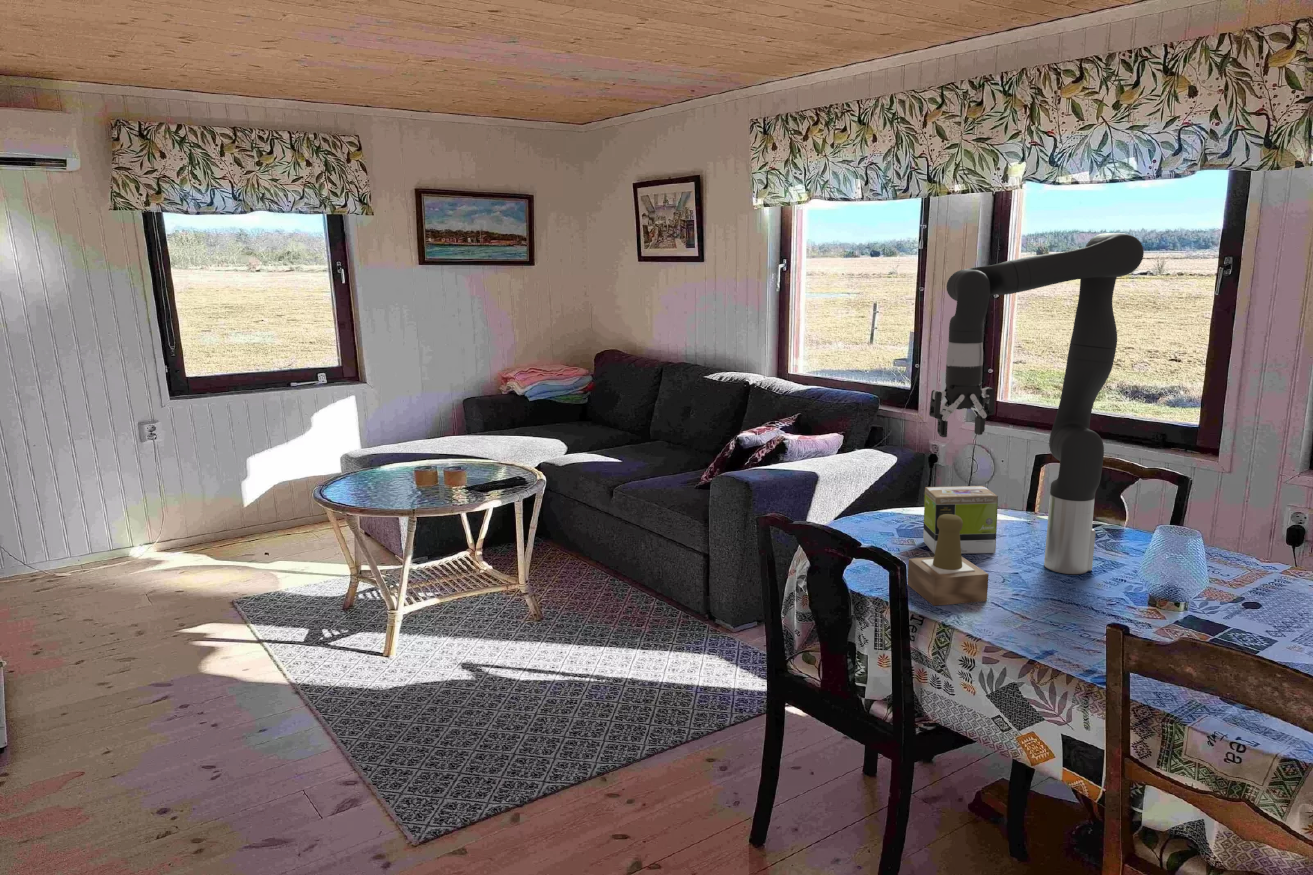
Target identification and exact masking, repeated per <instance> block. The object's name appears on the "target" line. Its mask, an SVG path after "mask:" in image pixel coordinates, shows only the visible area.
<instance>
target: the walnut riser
mask: <svg viewBox="0 0 1313 875" xmlns="http://www.w3.org/2000/svg"><path fill="white" fill-rule="evenodd" d="M933 560H934V556H929V557H915V558H914V557H913V558H908V566H907V568H908V569H907V583H908V585H909V586H908V585H907V586H908V587H910V588H911V589H912V590H913V591H914V592H916V593H917V594H919V596H921V597H922V598H923V599H924V600H926V601H927V602H928V603H930V605H932V606H933V607H934V606H946V605H948V606H949V605H956V604H957V605H958V604H968V603H979V602H980V603H981V602H987V601H988V589H989V588H988V586H989V575H990V574H989V573H988V572H986V571H985V570H983V569H982V568H980V567H978V566H977V565H975V564H974V563H973V562H971V561H970V560H968V559H966V558H965V557H963V556H962V568H960V569H957V570H946V569H940V568H937V567H935V566H934V565H933Z"/></svg>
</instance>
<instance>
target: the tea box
mask: <svg viewBox="0 0 1313 875" xmlns="http://www.w3.org/2000/svg"><path fill="white" fill-rule="evenodd" d="M923 506H924V507H923V508H924V510H923V532H922V533H923V535H922V536H923V537H922V538H923V540H922V541H923V543H924V544H925V545H926V546H927V547H928V548H929V550H930V551H931V552H932V554H933V555H935V550H936V545H937V540H938V534H939V529H938V527H937V520H938V518H939V516H941V515H943V514H953V515H957V516H959V517H960V518H961V519H962V522H963V526H962V529H961V530H960V544H961V555H962V554H996V547H997V529H998V528H997V526H998V506H999V496H998V495H997V494H995V493H994V492H992V491H991V490H990V489H988V488H987V487H985V485H970V486H969V485H965V486H964V485H963V486H927V487H926V486H925V488H924V505H923Z"/></svg>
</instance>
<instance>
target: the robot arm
mask: <svg viewBox="0 0 1313 875" xmlns="http://www.w3.org/2000/svg"><path fill="white" fill-rule="evenodd" d="M1144 253H1145V252H1144V246H1143V244H1142V242H1141V241H1140V240H1139V239H1138V238H1137V237H1136V236H1134V235H1132V234H1128V233H1123V232H1113V233H1112V232H1108V233H1105V232H1104V233H1100V234H1097V235H1095V236H1093V237H1092V238H1090V239H1089V240H1088V241H1087V243H1086V245H1085V246H1084V247H1082V248H1078V249H1074V250H1067V251H1062V252H1054V253H1044V254H1037V255H1031V256H1025V257H1020V258H1015V259H1012V260H1007V261H1003V262H999V263H996V264H992V265H990V264H989V265H983V266H982V265H981V266H976V267H969V268H964V269H960V270H957V271H956V272H954V273H952V274H951V276H949V278H948V280H947V283H946V292H947V294H948V296H949V297H950V298H951V299H953V300H954V301H955V302H956V308H955V314H954V315H953V316H951V318H950V320H949V327H948V341H947V348H946V360H945V361H946V362H945V389H944V390H936V389H933V390H931V393H930V394H931V395H930V402H929V403H930V404H929V414H928V415H929V417H932V418H934V419H936V420H937V429H936V430H937V434H938V435H939V437H942V438H947V437H948V426H949V425H948V418H949V417H950V416H951V414H953V413H954V412H955V411H956V410H964V409H967V410H972V411H973V413H974V414H975V416H976V417H975V418H974V430H973V431H974V434H975V435H978V436H983V434H984V433H985V430H986V428H985V427H986V418H987V417H989V416H993V415H994V414H995V389H994V388H992V387H989V386H985V387H983V388H982V387H981V384H983V383H982V382H983V380H982V379H983V363H984V349H983V339H984V338H983V337H984V320H985V317H986V315H987V311H988V307H989V302H990V297H991V296H994V295H995V296H997V295H998V296H999V295H1000V296H1001V295H1002V296H1003V295H1012V294H1017V293H1021V292H1026V291H1031V290H1035V289H1038V288H1044V287H1047V286H1048V287H1049V286H1051V285H1052V286H1053V285H1056V284H1060V283H1065V282H1070V281H1074V280H1079V281H1080V282H1079V293H1078V294H1079V295H1078V301H1077V306H1076V311H1075V317H1074V322H1073V328H1072V333H1071V338H1070V342H1069V347H1068V353H1067V358H1066V364H1065V366H1066V367H1065V372H1064V378H1063V382H1062V389H1061V395H1060V401H1059V405H1058V409H1057V412H1056V415H1055V418H1054V422H1053V424H1052V429H1051V431H1050V435H1049V440H1048V446H1049V447H1048V448H1049V452H1050V453H1051V455H1052V456H1053V457H1054V458H1055V459H1056V460H1058V461H1059V468H1058V470H1059V471H1058V476H1057V478H1056V479H1054V480H1053V481H1051V483H1050V489H1049V501H1048V502H1049V503H1048V512H1047V514H1048V515H1047V526H1046V527H1047V528H1046V537H1045V538H1046V539H1045V549H1044V550H1045V551H1044V563H1043V564H1044V567H1045V568H1046V569H1048V570H1049V571H1053V572H1055V573H1060V574H1066V575H1081V574H1085V573H1088V572H1089V571H1092V570H1093V564H1094V563H1093V562H1094V553H1095V543H1096V530H1095V529H1094V528H1093V521H1094V511H1095V510H1094V508H1095V498H1096V492H1097V490H1098V488H1099V487H1100V486H1099V485H1100V483H1101V479H1102V472H1103V464H1104V456H1105V444H1104V442H1103V441H1104V440H1103V438H1101V436H1100V435H1099V434H1098V433H1097V432H1096V431H1094V430H1092V429H1090V424H1091V416H1092V411H1093V406H1094V403H1095V401H1096V399H1097V396H1098V395H1099V393H1100V391H1101V390H1102V389H1103V387H1104V386H1105V384H1106V382H1107V380H1108V378H1109V376H1110V375H1111V372H1112V369H1113V366H1114V362H1115V356H1116V352H1117V351H1116V350H1117V345H1118V332H1117V331H1118V330H1117V324H1116V319H1115V314H1114V309H1113V307H1114V306H1113V297H1114V291H1115V286H1116V281H1117V278H1120V277H1121V278H1122V277H1124V276H1127V275H1130V274H1132V273H1133V272H1134V271H1136V270H1137V269H1138V267H1139V266H1140V265H1141V263H1142V261H1143V258H1144V255H1145V254H1144ZM980 397H982V398H983V399H982V400H983V405H982V404H981V403H980V400H979V399H980ZM944 399H946V400H945V401H944V403H943V404H942V401H943V400H944Z"/></svg>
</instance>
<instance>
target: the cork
mask: <svg viewBox="0 0 1313 875" xmlns="http://www.w3.org/2000/svg"><path fill="white" fill-rule="evenodd" d="M962 526H963V522H962V519H961V518H960V517H959V516H957V515H953V514H943V515H941V516H939V518H938V520H937V527H938V529H939V534H938V540H937V545H936V550H935V554H933V555H934V556H933V557H934V560H933V565H934V566H935V567H937V568H940V569H946V570H957V569H960V568H962V557H963V556H962V554H961V544H960V530H961V529H962Z"/></svg>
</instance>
